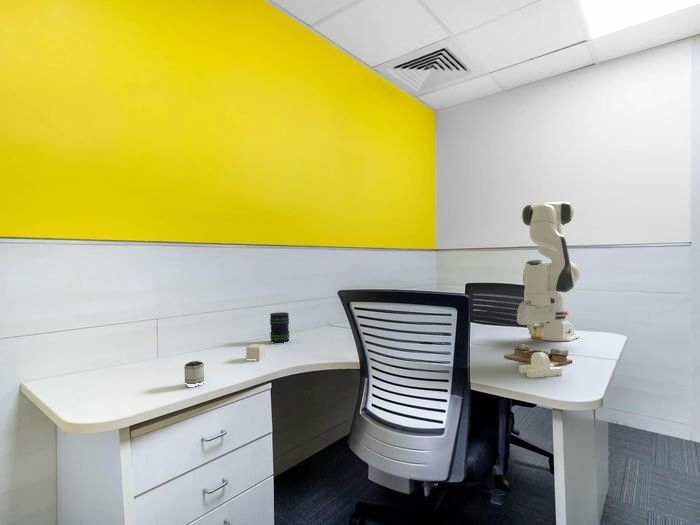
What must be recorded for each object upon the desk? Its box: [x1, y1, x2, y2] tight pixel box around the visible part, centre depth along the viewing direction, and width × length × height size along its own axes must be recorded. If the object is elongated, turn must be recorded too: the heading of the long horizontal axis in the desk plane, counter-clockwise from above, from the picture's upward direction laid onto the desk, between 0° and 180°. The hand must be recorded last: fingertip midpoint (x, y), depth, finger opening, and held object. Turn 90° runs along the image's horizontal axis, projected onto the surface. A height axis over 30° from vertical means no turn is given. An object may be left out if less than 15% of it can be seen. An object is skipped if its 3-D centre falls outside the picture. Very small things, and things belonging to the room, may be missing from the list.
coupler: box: [530, 325, 543, 341], centre depth 156 cm, size 4×4×5 cm
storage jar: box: [269, 311, 290, 344], centre depth 202 cm, size 10×10×15 cm
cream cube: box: [245, 343, 266, 360], centre depth 167 cm, size 6×6×6 cm
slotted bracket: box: [518, 351, 563, 379], centre depth 138 cm, size 13×7×8 cm, turn 101°
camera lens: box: [183, 360, 205, 384], centre depth 133 cm, size 6×6×8 cm
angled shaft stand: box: [550, 348, 569, 362], centre depth 152 cm, size 4×6×4 cm, turn 60°
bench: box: [503, 342, 573, 367], centre depth 156 cm, size 15×20×5 cm
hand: (536, 334), depth 156 cm, fingers closed on coupler, 4 cm apart
